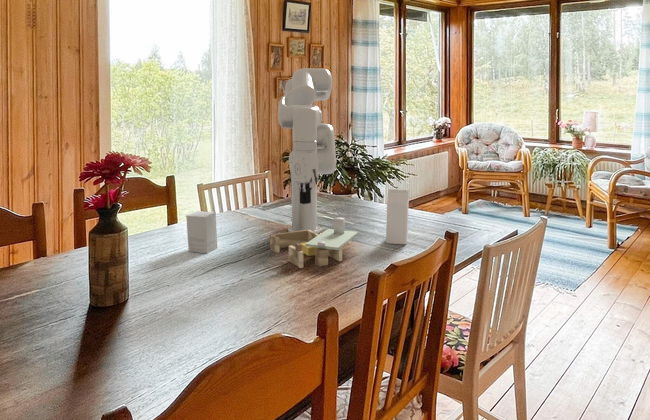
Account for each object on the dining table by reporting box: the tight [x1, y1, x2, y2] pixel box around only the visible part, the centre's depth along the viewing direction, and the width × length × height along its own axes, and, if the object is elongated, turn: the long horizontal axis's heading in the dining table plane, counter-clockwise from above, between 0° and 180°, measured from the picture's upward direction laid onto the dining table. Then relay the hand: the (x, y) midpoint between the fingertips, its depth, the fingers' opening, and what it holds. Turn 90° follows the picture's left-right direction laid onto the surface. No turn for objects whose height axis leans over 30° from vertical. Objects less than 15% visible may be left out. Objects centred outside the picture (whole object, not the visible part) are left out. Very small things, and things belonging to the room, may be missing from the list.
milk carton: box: [385, 188, 410, 245], centre depth 195 cm, size 7×7×19 cm
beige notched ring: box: [269, 229, 343, 269], centre depth 181 cm, size 25×15×7 cm, turn 29°
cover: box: [305, 217, 359, 250], centre depth 179 cm, size 21×11×6 cm, turn 158°
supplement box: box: [185, 210, 218, 254], centre depth 186 cm, size 7×7×13 cm
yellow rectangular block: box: [300, 242, 316, 257], centre depth 184 cm, size 6×4×3 cm, turn 28°
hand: (305, 203), depth 178 cm, fingers closed
